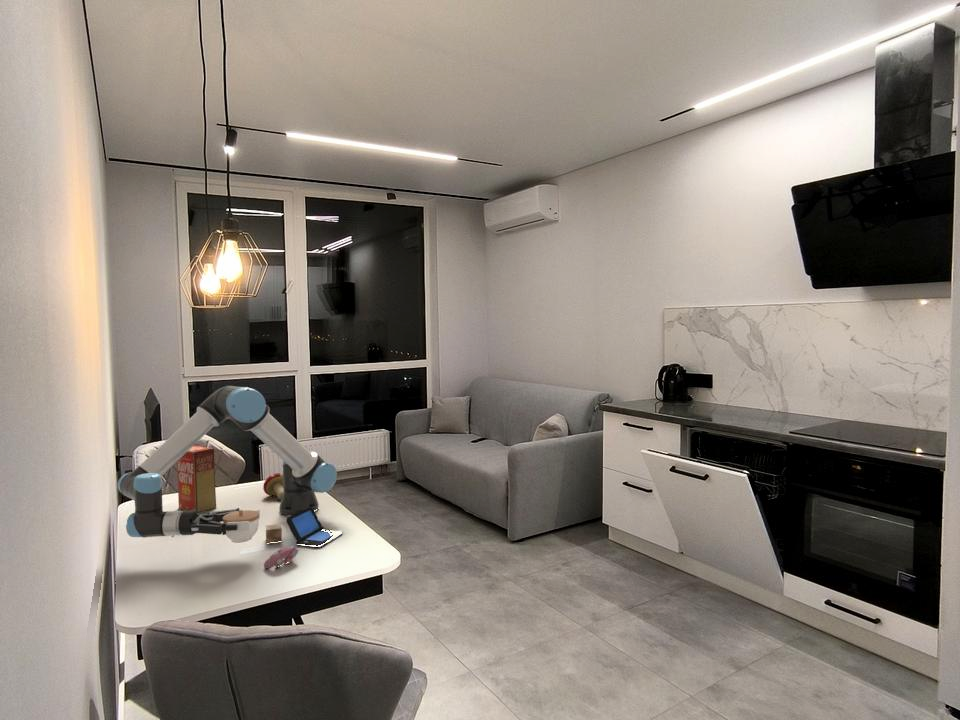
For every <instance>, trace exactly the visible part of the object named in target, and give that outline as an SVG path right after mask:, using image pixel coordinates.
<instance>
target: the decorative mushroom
mask: <svg viewBox="0 0 960 720" xmlns="http://www.w3.org/2000/svg"><path fill="white" fill-rule="evenodd" d="M263 492H264V493H265V494H266V495H268V496H271V497H273V496H272V495H276V496H277V499H279V501H281V500H282V497H283V493H284V487H283V473H280V472H277V473H273V474H271V475H269V476H268V477H267V478H266V479H265V480H264V483H263Z"/></svg>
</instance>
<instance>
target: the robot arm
mask: <svg viewBox="0 0 960 720" xmlns="http://www.w3.org/2000/svg"><path fill="white" fill-rule="evenodd" d="M228 419H229V420H230V421H233V422H234V423H235V424H236V425H237V426H239V428H240V429H242V431H244V432H249V431H250V432H251V433H253V435H255V436H256V437H257V438H258V439H259V440H261V441H262V442H263V444H265V446H267V447H268V448H269V449H270V450H271V451H272V452H273V453H274V454H275V455H277V456H278V457H279V458H280V460H282V474H283V487H284V493H283V497H282V500H280V504H279V508H278V509H279V514H280V513H281V514H280V515H282V514H284V515H283V516H286V515H294V514H297V513H299V512H301V511H303V510H305V509H307V508H309V507H311V508H313V510H316V509H318V507H319V501H318V499H317V496H316V493H319V494H322V493H327V492H328V491H330V490H331V489H332V488H333V487H334V486H335V483H336V482H337V478H338V471H337V469H336V466H335V465H334V464H333V463H331V462H329V461H325V460H324V459H323V458H322V457H321V456H320V455H319V454H318V453H317V452H315V451H309V450H308V449H307V448H306V447H305V446H304V444H301V443H300V441H298V440H297V438H295V437H294V436H293V434H291V433H290V432H289V431H288V430H287V429H286V428H285V427H284V426H283V425H282V424H281V423H280V422H279V421H278V420H277V419H276V418H275V417H273V416H272V414H270V407H269V405H268V404H267V403H266V399H265V397H264V396H263V395H262V393H261V392H260V391H258V390H256V389H254V388H251V387H248V386H235V385H226V386H223V387H220V388H218V389H217V390H215V391H214V392H213V393H211V394H210V395H209V396H208V397H207V398H205V400H204V401H202V403H200V404H199V405H198V406H197V407H196V412H195V413H194V414H193V415H192V416H191V417H190V418H188V420H187V421H186V422H184V423H183V424H182V425H181V426H180V427H178V428H177V430H176V431H175V432H174V433H173V434H172V435H171V436H170V437H168V439H166V440H165V441H164V442H163V443H162V444H160V446H158V447H157V449H156V450H155V451H154V452H152V453H151V454H150V455H148V457H147V458H146V459H145V460H143V462H142V463H141V464H140V465H138V466H137V467H136V468H135V469H134V470H132V472H127V473H124V474H123V475H121V477H120V478H119V479H118V482H117V489H118V491H119V492H120V494H122V495H123V496H124V497H127V498H129V499H131V500H132V501H134V512H132V513H131V514H129V515H128V517H127V519H126V525H125V528H126V529H125V530H126V533H127V535H128V536H129V537H131V538H143V539H144V538H153V537H154V538H155V537H157V538H158V537H169V536H170V537H171V538H174V537H175V536H176V537H177V536H193V535H195V534H208V535H222V536H226V531H227V532H228V531H249V530H250V528H249V521H241V522H227V525H226V523H223V516H225V515H226V514H229V513H232V512H236V511H239V510H240V507H237V508H233V509H226V510H216V511H206V513H204V514H202V515H199V513H197V511H195V510H190V511H185V510H171V511H170V510H169V511H163V481H162V477H163V475H165V473H166V472H168V471H169V469H171V468H172V467H173V466H174V465H175V464H177V461H178V460H179V459H180V458H181V457H182V456H183V455H184V454H185V453H186V452H187V451H188V450H189V449H190V448H191V447H193V446H196V444H197V443H198V442H199V441H200V440H201V439H202V438H203V437H204V436H205V435H206V434H207V433H208V432H209V431H210V430H211V429H212V428H214V427H219V426H220V425H221V424H222V423H224V422H225V421H226V420H228ZM318 510H319V509H318ZM252 511H257V512H258V513H259V519H260V518H261V517H260V516H261V514H260V509H252Z"/></svg>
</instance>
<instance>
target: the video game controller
mask: <svg viewBox="0 0 960 720" xmlns="http://www.w3.org/2000/svg"><path fill="white" fill-rule="evenodd" d="M298 554H299V549H298V548H297V547H296V546H293V545H290V546H284V547H281V548H279V550H277V551H274V553H273V554H271V555H270V557H269V558H267V560H265V561H264V563H263V567H264V569H265V568H268V569H267V570H269V568H270V569H272V568H273V567H276V568H277V567H278V566H280V565H282V566H283V564H285V563H287V562H290V563H291V562H292V560H293V559H294V558H295V557H297V555H298Z"/></svg>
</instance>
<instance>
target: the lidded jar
mask: <svg viewBox="0 0 960 720" xmlns="http://www.w3.org/2000/svg"><path fill="white" fill-rule="evenodd" d="M252 510H253V509H252ZM252 510H251V509H250V510H249V509H248V510H246V509H245V510H243V509H239V511H236V512H232V513H229V514H226V515H225V516H223V522H222V523H226V525H227V522H241V521H249V528H250V530H249V531H228V532H227V531H226V534H225V536H226V537H227V538H228V539H229V540H230V541H231V542H232V543H237V544H238V543H246V542H248V541H251V540H252V539H253V537H254V536H255V535H256V533H257V532H258V529H259V525H260V524H259V521H260V518H259V513H258V512H257V511H252Z"/></svg>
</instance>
